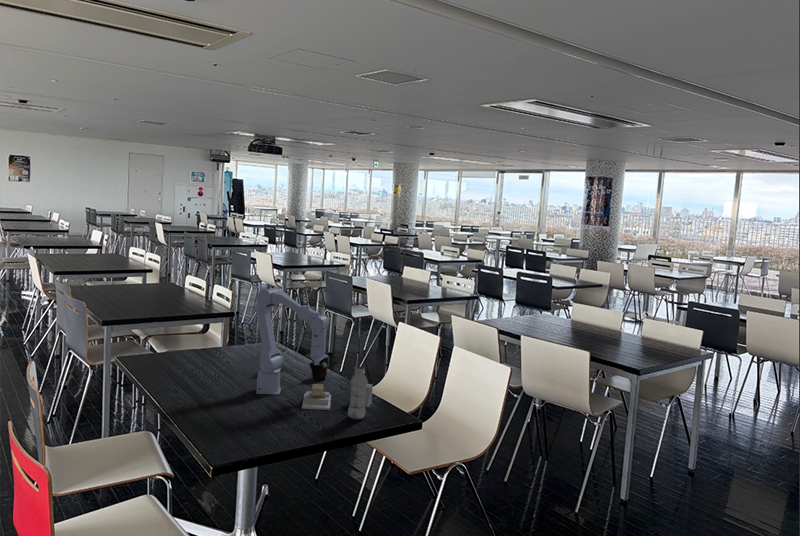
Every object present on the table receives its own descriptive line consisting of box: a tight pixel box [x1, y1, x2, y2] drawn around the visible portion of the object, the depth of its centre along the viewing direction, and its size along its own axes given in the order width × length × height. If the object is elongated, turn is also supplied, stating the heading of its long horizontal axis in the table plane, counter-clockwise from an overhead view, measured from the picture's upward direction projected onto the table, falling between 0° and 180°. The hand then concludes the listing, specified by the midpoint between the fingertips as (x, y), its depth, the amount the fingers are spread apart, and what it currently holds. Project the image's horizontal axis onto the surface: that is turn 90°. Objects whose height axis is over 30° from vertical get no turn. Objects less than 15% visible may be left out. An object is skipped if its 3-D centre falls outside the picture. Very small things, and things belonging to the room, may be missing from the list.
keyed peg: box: [311, 383, 327, 399], centre depth 242 cm, size 4×6×6 cm
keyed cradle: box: [301, 390, 332, 411], centre depth 243 cm, size 11×15×3 cm
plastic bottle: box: [347, 366, 369, 420], centre depth 228 cm, size 6×7×20 cm
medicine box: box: [365, 383, 374, 408], centre depth 244 cm, size 8×4×9 cm, turn 71°
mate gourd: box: [310, 348, 328, 382], centre depth 271 cm, size 8×8×15 cm
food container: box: [277, 347, 287, 374], centre depth 279 cm, size 12×6×10 cm, turn 168°
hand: (316, 377), depth 243 cm, fingers open, 7 cm apart
